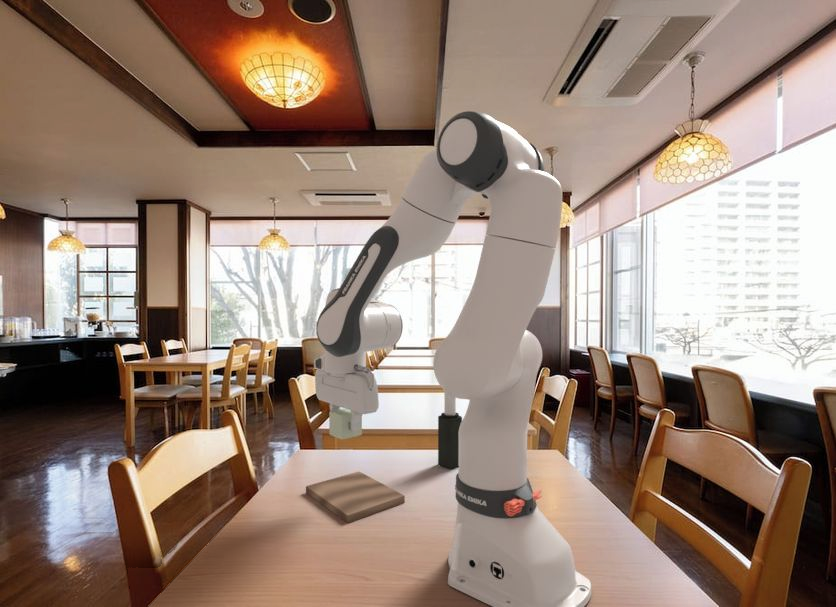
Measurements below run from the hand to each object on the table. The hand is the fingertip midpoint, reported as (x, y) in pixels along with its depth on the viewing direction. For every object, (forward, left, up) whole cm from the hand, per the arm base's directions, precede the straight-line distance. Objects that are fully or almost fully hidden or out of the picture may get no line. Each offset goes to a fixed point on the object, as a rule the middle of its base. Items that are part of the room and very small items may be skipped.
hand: (345, 427), depth 98 cm
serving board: (0, -2, -16) cm, 16 cm away
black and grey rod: (+1, -32, -16) cm, 36 cm away
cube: (0, 0, -2) cm, 2 cm away
